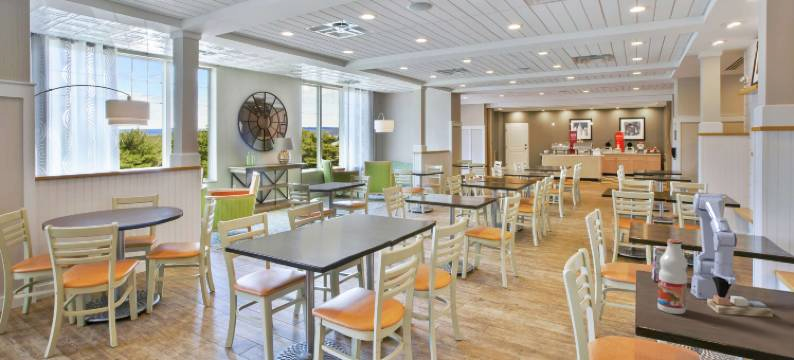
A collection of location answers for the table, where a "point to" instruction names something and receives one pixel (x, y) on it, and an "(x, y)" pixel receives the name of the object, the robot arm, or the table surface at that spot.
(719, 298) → the terracotta key
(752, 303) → the slate blue key
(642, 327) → the table surface
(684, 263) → the fruit juice
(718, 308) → the light wood flat board
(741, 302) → the off-white key
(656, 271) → the candy bar box
